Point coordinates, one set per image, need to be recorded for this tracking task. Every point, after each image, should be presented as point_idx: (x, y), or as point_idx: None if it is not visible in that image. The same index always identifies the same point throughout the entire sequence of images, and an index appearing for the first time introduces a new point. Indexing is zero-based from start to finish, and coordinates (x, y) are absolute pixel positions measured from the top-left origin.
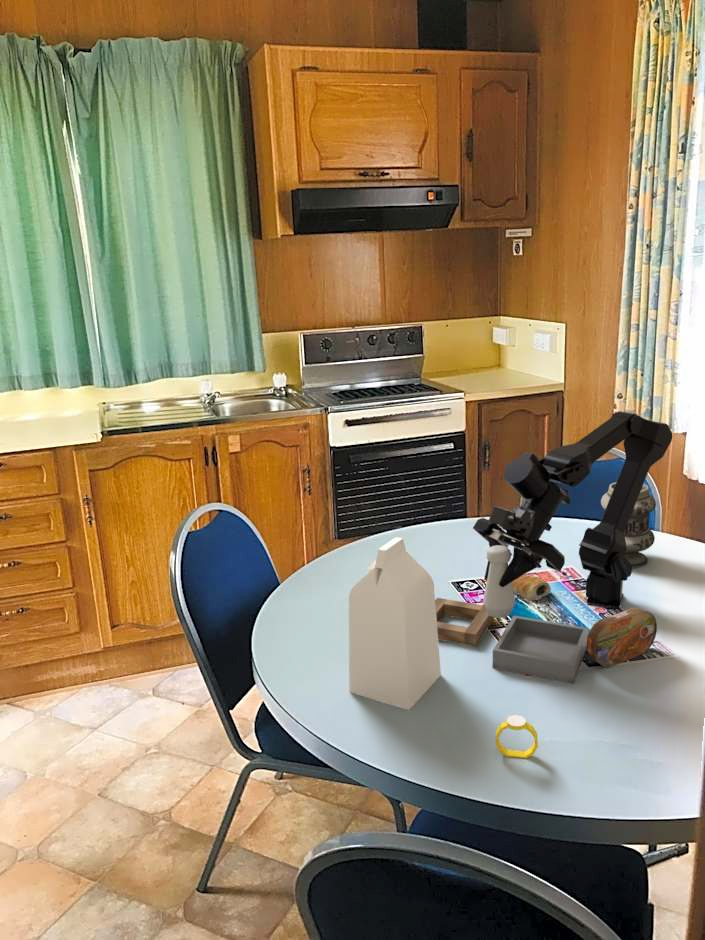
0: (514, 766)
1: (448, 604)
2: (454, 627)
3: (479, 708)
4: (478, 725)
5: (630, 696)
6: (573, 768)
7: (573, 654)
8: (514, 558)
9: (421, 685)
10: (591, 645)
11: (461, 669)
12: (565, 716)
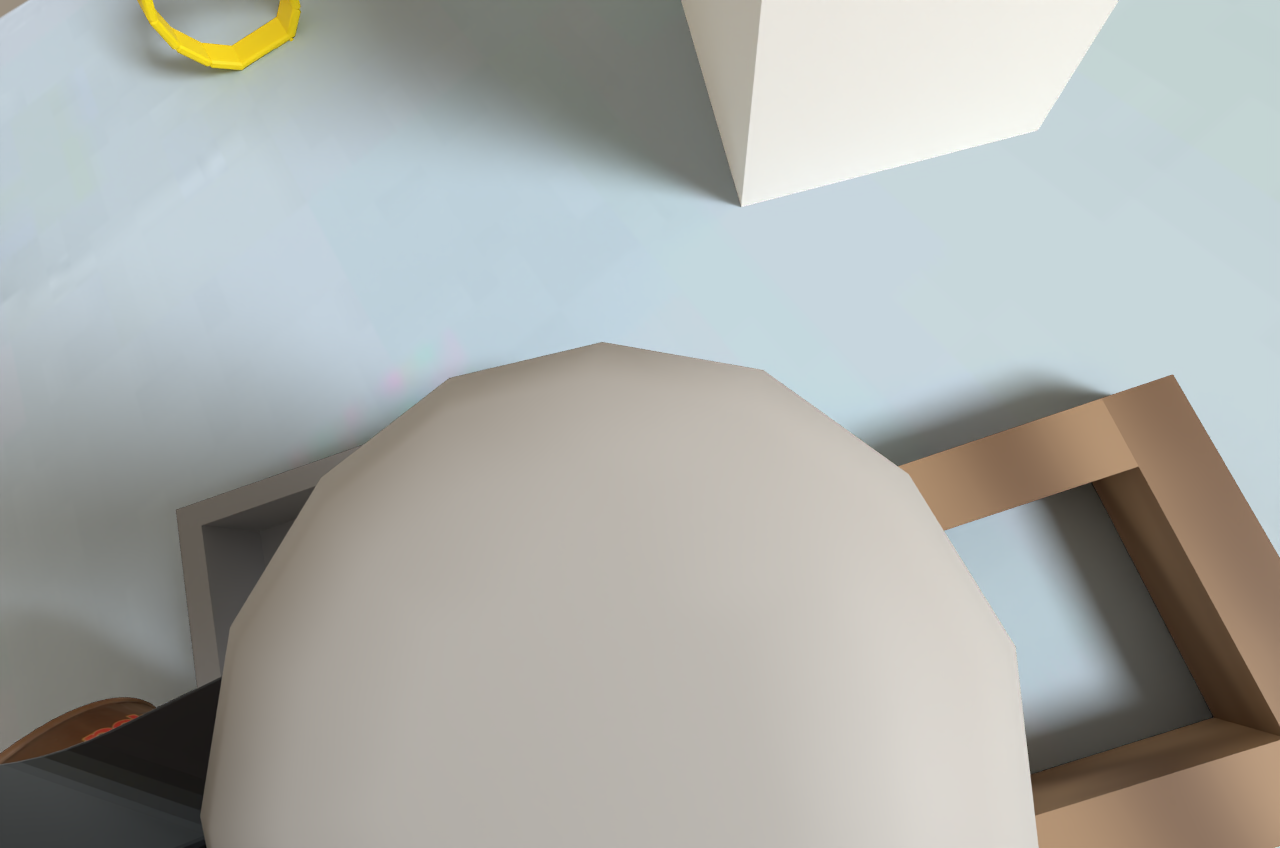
0: (246, 6)
1: (1251, 752)
2: (950, 490)
3: (478, 141)
4: (429, 70)
5: (32, 589)
6: (104, 107)
7: (210, 611)
8: (193, 805)
9: (698, 19)
10: (109, 719)
11: (700, 297)
12: (204, 304)
